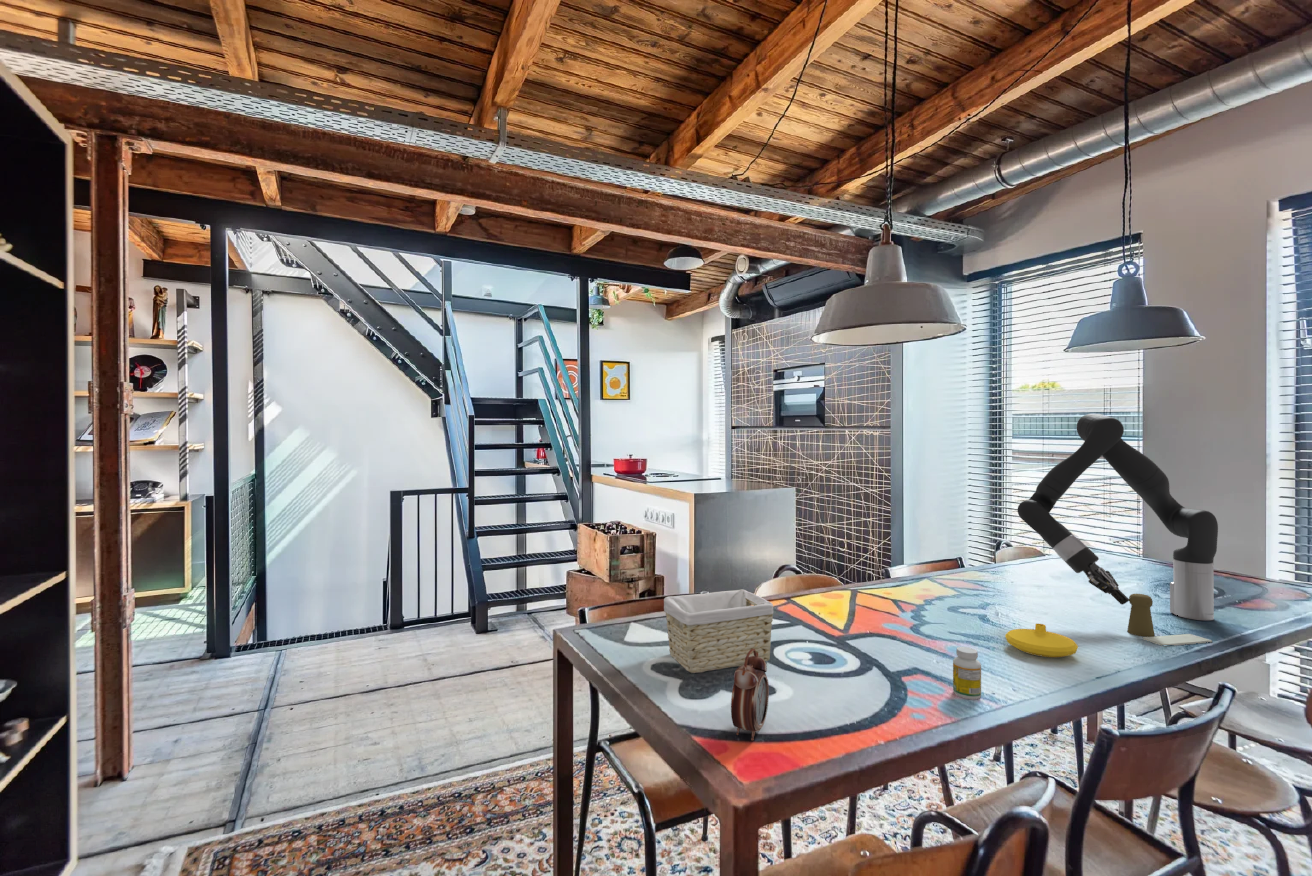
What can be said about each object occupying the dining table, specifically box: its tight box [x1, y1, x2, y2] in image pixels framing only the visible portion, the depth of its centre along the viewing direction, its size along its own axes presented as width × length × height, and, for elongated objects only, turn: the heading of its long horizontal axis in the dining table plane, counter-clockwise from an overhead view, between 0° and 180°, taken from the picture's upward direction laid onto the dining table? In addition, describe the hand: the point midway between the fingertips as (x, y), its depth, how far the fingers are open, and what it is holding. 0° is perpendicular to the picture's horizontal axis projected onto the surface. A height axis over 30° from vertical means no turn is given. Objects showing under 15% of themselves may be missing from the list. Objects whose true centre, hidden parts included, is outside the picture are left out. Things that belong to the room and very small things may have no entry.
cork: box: [1127, 593, 1156, 638], centre depth 167 cm, size 6×6×11 cm
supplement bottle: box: [952, 646, 982, 701], centre depth 126 cm, size 5×5×10 cm
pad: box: [1142, 633, 1213, 646], centre depth 160 cm, size 6×16×1 cm, turn 101°
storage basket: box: [663, 589, 774, 674], centre depth 147 cm, size 24×16×15 cm
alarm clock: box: [730, 649, 770, 742], centre depth 110 cm, size 11×5×15 cm, turn 155°
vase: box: [1004, 623, 1079, 658], centre depth 152 cm, size 16×16×7 cm
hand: (1125, 602), depth 169 cm, fingers closed
